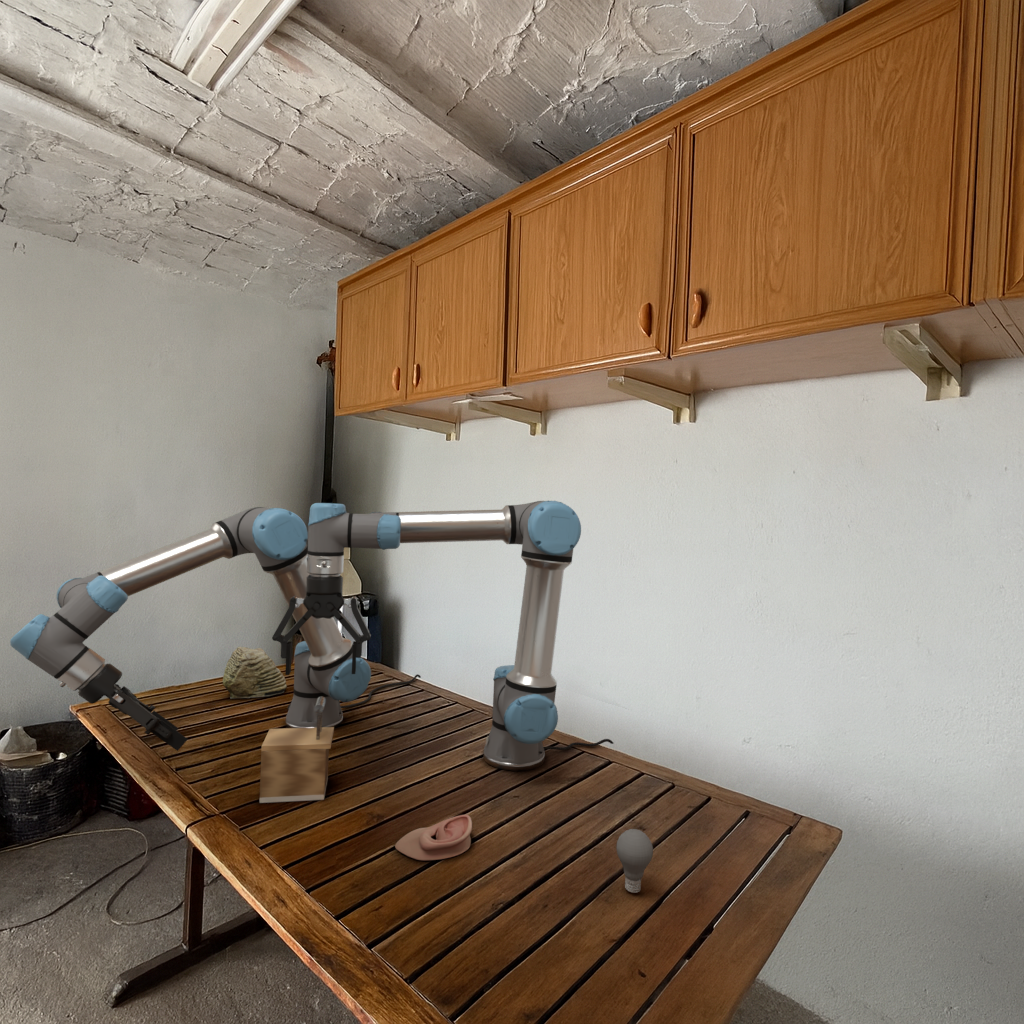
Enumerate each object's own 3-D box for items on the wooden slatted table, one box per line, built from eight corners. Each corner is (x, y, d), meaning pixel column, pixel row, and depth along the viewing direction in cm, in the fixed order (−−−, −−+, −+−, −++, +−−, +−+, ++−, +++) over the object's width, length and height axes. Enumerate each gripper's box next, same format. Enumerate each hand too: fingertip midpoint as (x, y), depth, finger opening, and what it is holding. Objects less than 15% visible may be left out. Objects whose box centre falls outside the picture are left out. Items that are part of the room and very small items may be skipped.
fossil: (218, 695, 195) (220, 647, 195) (278, 685, 208) (279, 640, 207) (228, 703, 189) (230, 653, 188) (289, 692, 201) (290, 645, 201)
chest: (327, 779, 142) (329, 732, 142) (324, 799, 133) (326, 749, 132) (267, 781, 139) (269, 734, 139) (259, 802, 130) (261, 751, 130)
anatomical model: (389, 833, 113) (412, 803, 124) (388, 855, 113) (411, 823, 124) (460, 844, 110) (477, 813, 121) (459, 867, 110) (476, 833, 121)
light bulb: (610, 879, 108) (613, 822, 108) (644, 879, 109) (647, 822, 109) (619, 902, 102) (622, 840, 102) (655, 901, 103) (658, 840, 103)
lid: (333, 731, 142) (335, 693, 142) (330, 748, 133) (332, 707, 132) (269, 733, 139) (270, 694, 139) (261, 751, 130) (262, 708, 130)
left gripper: (75, 686, 134) (156, 743, 141) (76, 700, 114) (171, 767, 121) (104, 657, 138) (183, 715, 145) (110, 666, 118) (201, 733, 125)
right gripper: (260, 575, 130) (256, 678, 130) (384, 578, 135) (380, 676, 135) (266, 571, 137) (263, 668, 138) (384, 573, 142) (380, 667, 143)
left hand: (178, 739), depth 133 cm, fingers open, 13 cm apart
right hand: (321, 673), depth 137 cm, fingers open, 13 cm apart
